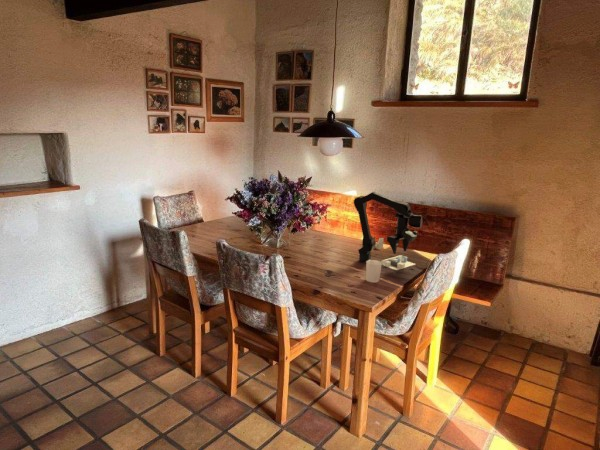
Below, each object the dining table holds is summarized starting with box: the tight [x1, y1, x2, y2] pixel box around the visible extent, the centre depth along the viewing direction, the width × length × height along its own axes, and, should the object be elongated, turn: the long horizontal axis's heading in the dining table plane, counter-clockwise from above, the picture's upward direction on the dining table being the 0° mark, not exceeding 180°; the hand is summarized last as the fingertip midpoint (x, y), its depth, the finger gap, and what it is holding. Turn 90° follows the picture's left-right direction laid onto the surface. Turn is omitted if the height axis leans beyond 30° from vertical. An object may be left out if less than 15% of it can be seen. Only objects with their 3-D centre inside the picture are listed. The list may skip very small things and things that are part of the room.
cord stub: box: [389, 260, 406, 270], centre depth 242 cm, size 3×10×3 cm, turn 39°
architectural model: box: [375, 237, 385, 251], centre depth 279 cm, size 3×7×7 cm, turn 143°
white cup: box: [365, 259, 383, 284], centre depth 221 cm, size 8×8×10 cm
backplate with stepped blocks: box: [380, 254, 416, 271], centre depth 246 cm, size 18×11×4 cm, turn 129°
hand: (399, 252), depth 239 cm, fingers open, 9 cm apart
